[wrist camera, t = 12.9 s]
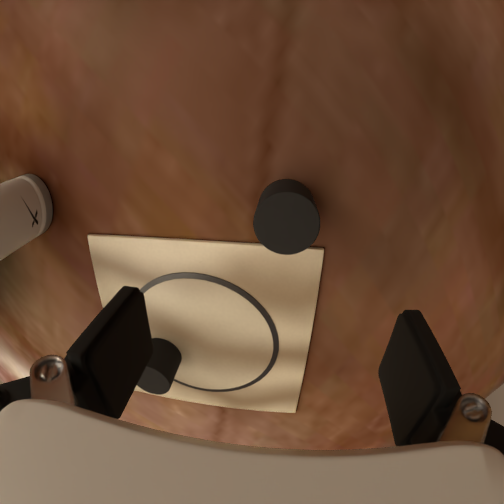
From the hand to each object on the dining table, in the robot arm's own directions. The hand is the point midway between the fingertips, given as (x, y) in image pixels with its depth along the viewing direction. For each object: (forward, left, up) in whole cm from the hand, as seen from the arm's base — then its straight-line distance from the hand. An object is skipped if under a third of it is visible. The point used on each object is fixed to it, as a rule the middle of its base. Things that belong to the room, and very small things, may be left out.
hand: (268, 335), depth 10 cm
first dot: (+14, -10, -12) cm, 21 cm away
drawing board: (+12, -7, -13) cm, 19 cm away
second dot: (-1, 0, -13) cm, 13 cm away
